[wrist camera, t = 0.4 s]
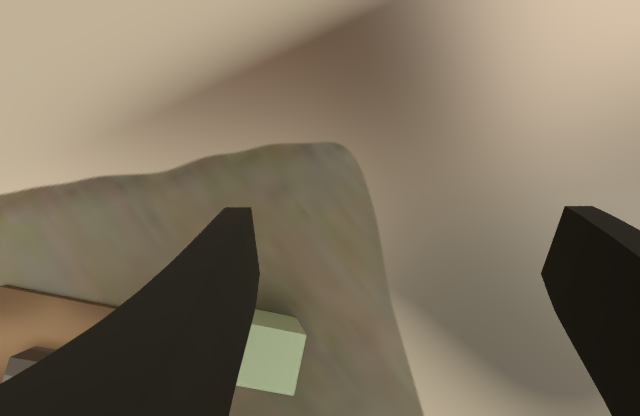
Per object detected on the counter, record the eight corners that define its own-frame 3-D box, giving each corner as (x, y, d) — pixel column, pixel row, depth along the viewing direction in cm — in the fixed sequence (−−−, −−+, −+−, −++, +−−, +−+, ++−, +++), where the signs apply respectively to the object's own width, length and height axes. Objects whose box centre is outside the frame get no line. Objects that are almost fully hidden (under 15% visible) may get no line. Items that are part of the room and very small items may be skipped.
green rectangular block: (285, 364, 36) (293, 395, 29) (238, 355, 36) (233, 385, 28) (295, 317, 37) (306, 334, 29) (249, 308, 37) (248, 323, 29)
